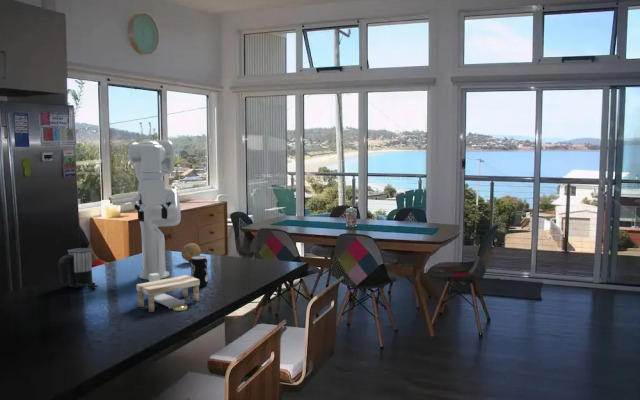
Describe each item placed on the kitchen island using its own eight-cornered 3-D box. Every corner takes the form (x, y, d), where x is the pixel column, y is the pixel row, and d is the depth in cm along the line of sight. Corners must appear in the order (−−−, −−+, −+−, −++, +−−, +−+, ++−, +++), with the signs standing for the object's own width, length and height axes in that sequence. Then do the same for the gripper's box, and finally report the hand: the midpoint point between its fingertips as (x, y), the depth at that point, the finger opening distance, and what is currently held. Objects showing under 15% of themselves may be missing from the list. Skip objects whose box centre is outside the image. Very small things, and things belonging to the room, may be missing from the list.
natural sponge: (192, 266, 256) (192, 245, 255) (177, 264, 260) (177, 244, 259) (204, 262, 264) (203, 242, 263) (189, 260, 268) (189, 240, 267)
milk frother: (79, 281, 229) (77, 247, 227) (112, 283, 225) (110, 248, 223) (55, 290, 215) (53, 253, 213) (90, 293, 211) (88, 255, 210)
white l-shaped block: (145, 298, 204) (145, 274, 203) (160, 294, 209) (159, 272, 208) (169, 308, 192) (168, 283, 191) (184, 305, 196) (184, 280, 195)
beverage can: (203, 288, 218) (203, 259, 217) (188, 287, 219) (187, 258, 218) (210, 284, 224) (209, 255, 223) (195, 283, 226) (194, 255, 224)
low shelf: (137, 306, 194) (136, 284, 194) (186, 295, 208) (185, 274, 208) (150, 312, 187) (149, 289, 186) (200, 300, 201) (199, 279, 200)
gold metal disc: (170, 309, 192) (170, 306, 192) (183, 306, 195) (183, 303, 195) (176, 312, 188) (176, 309, 188) (189, 309, 191) (189, 306, 191)
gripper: (167, 175, 219) (168, 216, 221) (126, 177, 207) (127, 221, 209) (176, 176, 214) (177, 218, 216) (134, 178, 202) (136, 223, 204)
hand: (153, 219), depth 212 cm, fingers open, 9 cm apart
